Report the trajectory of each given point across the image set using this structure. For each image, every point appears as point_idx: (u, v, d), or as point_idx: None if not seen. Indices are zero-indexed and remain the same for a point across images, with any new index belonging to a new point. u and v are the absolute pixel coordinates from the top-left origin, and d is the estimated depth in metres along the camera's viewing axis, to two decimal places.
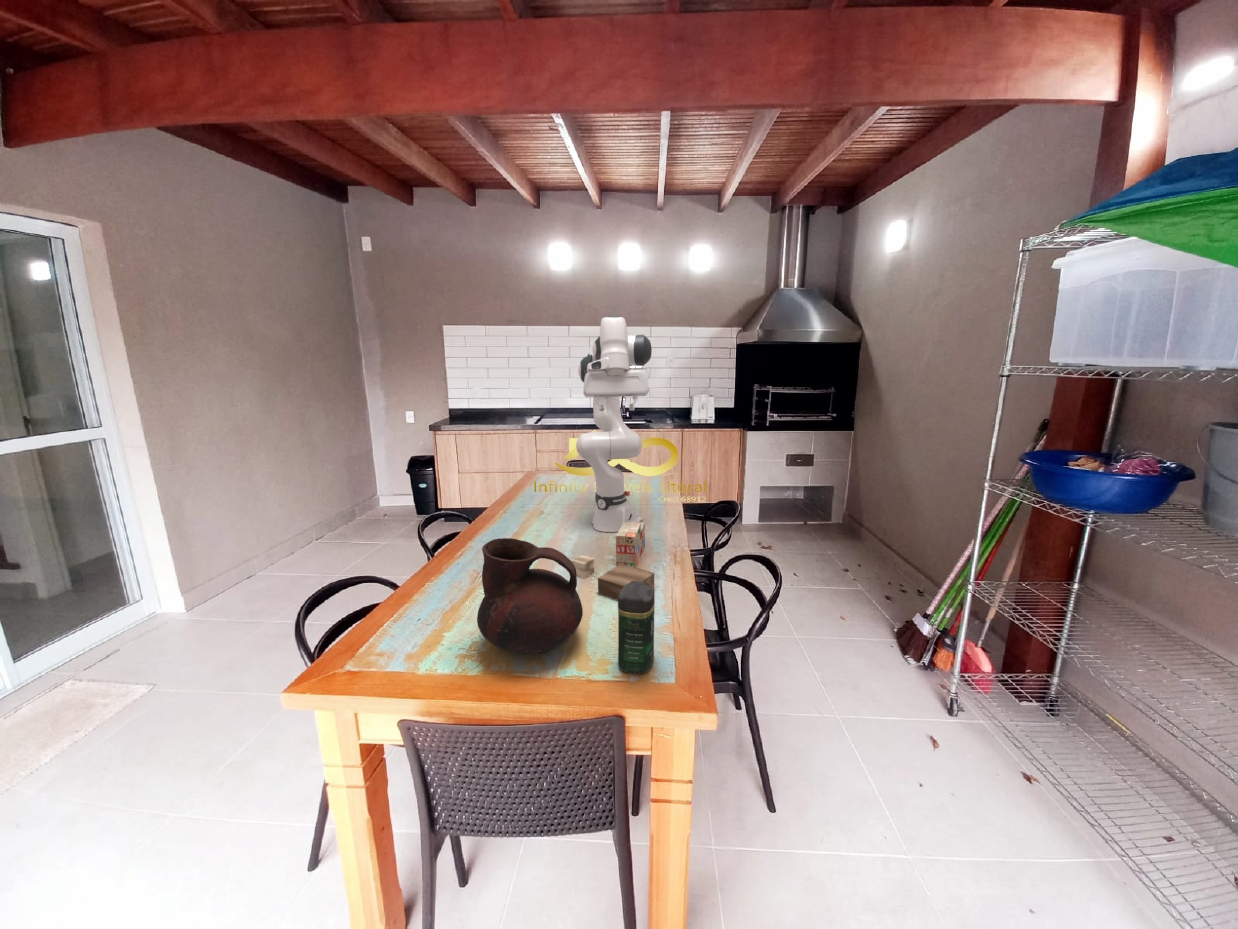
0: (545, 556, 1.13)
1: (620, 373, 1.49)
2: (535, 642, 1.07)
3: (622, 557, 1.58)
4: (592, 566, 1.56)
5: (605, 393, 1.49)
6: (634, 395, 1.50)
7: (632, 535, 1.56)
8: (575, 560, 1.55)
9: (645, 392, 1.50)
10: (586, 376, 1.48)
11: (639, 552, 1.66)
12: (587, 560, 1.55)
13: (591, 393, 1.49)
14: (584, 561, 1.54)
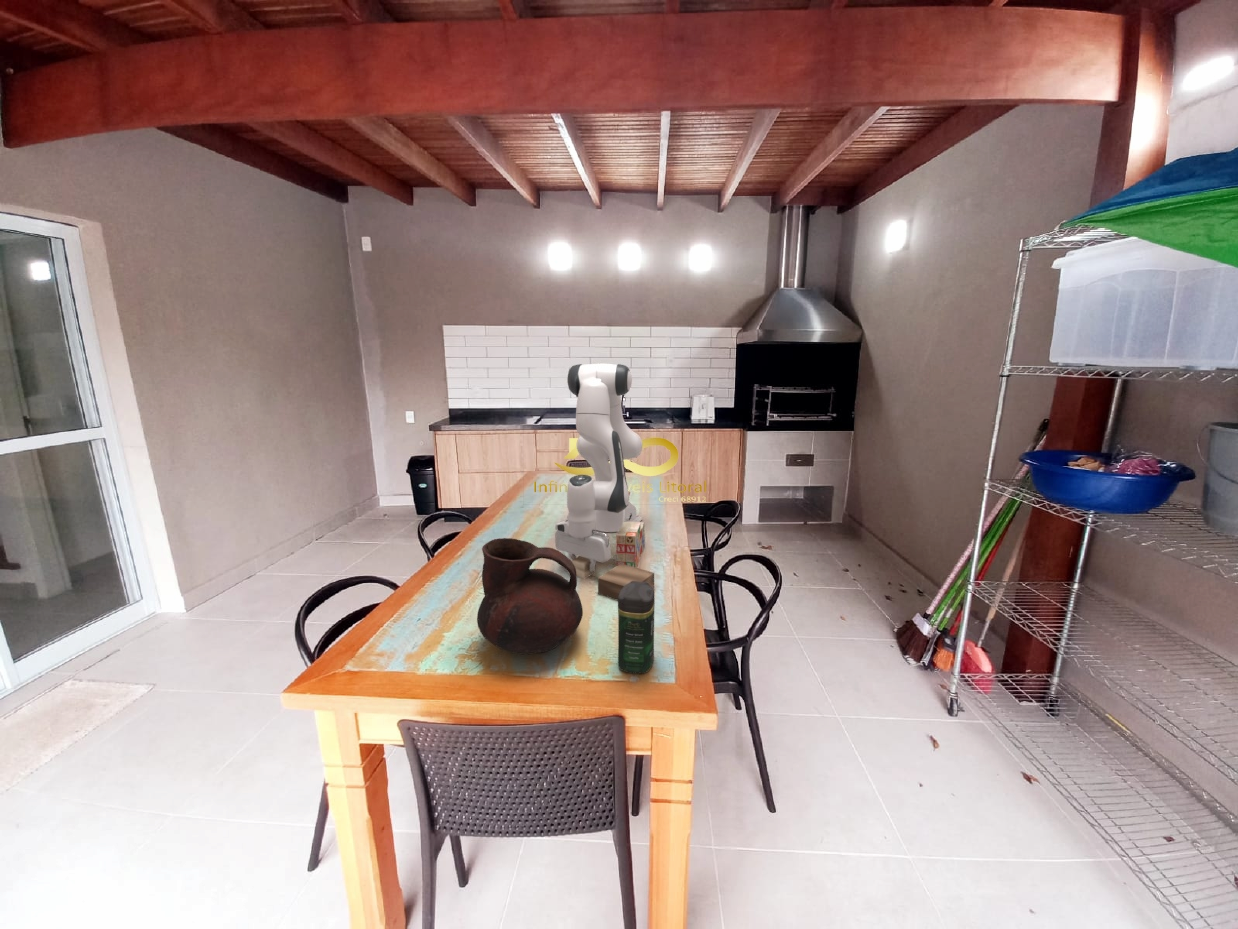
0: (545, 556, 1.13)
1: (580, 540, 1.51)
2: (535, 642, 1.07)
3: (623, 557, 1.58)
4: None
5: (571, 553, 1.56)
6: (590, 559, 1.52)
7: (632, 534, 1.57)
8: (575, 560, 1.55)
9: (602, 561, 1.49)
10: (555, 534, 1.57)
11: (639, 551, 1.66)
12: (587, 560, 1.55)
13: (560, 549, 1.58)
14: (583, 560, 1.54)
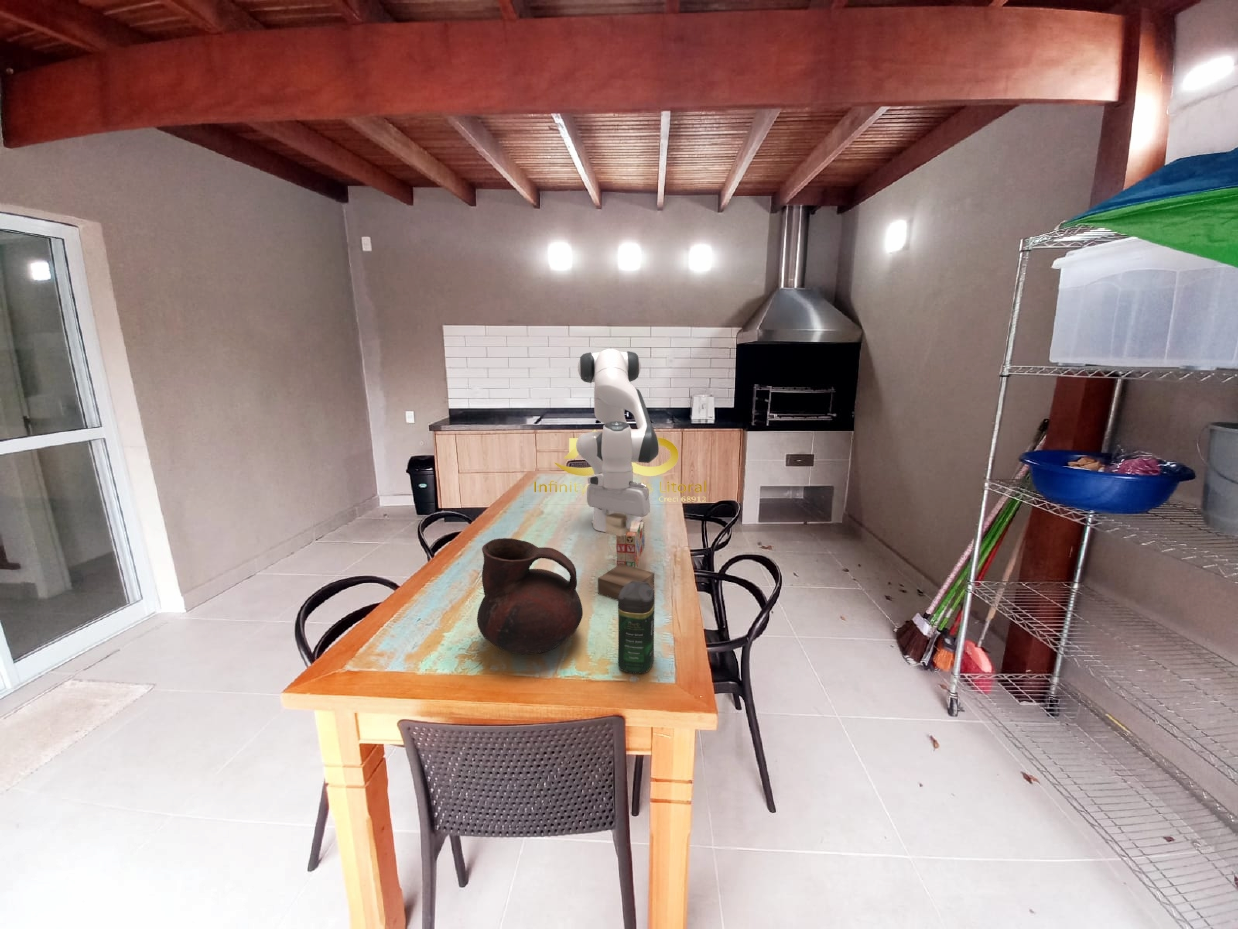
0: (545, 556, 1.13)
1: (615, 492, 1.37)
2: (535, 642, 1.07)
3: (623, 556, 1.58)
4: None
5: (605, 508, 1.41)
6: (627, 514, 1.38)
7: (632, 534, 1.57)
8: (609, 516, 1.40)
9: (640, 516, 1.34)
10: (587, 489, 1.43)
11: (639, 551, 1.66)
12: (622, 516, 1.40)
13: (593, 506, 1.44)
14: (619, 516, 1.40)
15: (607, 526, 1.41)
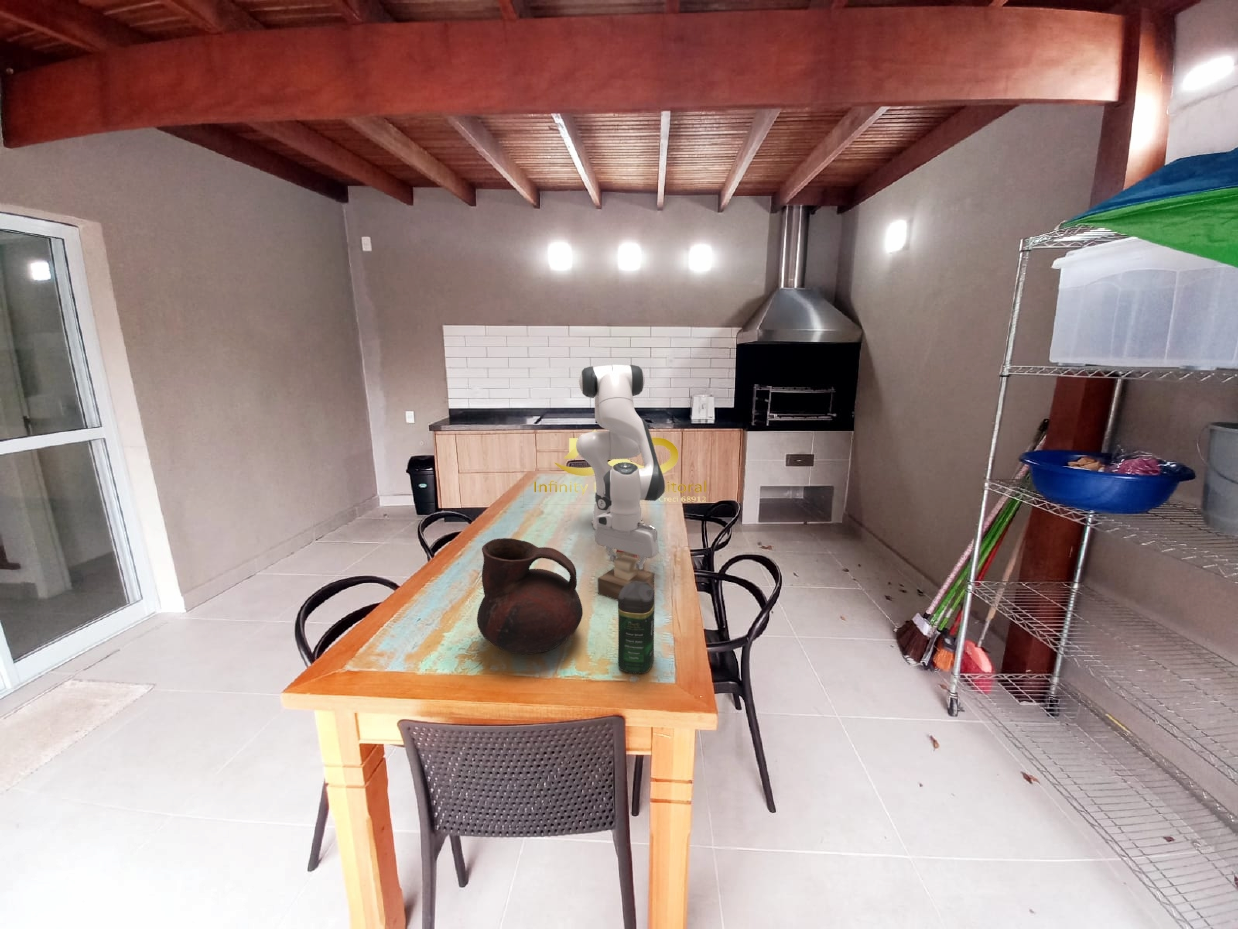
0: (545, 556, 1.13)
1: (624, 533, 1.38)
2: (535, 642, 1.07)
3: None
4: None
5: (613, 548, 1.43)
6: (640, 556, 1.38)
7: None
8: (618, 560, 1.42)
9: (649, 557, 1.36)
10: (596, 528, 1.44)
11: None
12: (631, 560, 1.42)
13: (601, 544, 1.45)
14: (627, 561, 1.42)
15: (615, 570, 1.42)
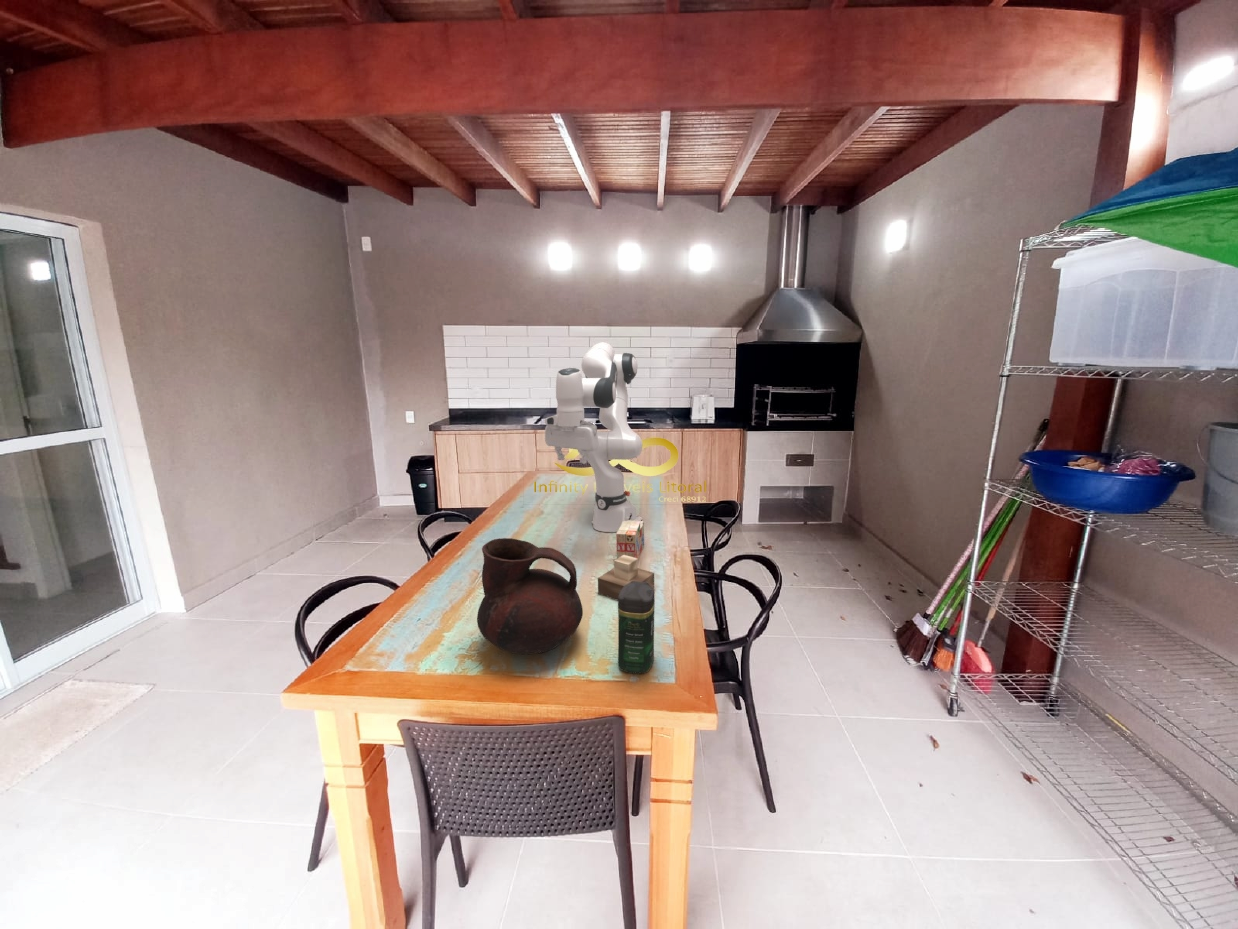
0: (545, 556, 1.13)
1: (568, 430, 1.55)
2: (535, 642, 1.07)
3: None
4: (636, 567, 1.43)
5: (560, 446, 1.60)
6: (582, 451, 1.56)
7: (632, 533, 1.58)
8: (618, 560, 1.42)
9: (589, 450, 1.53)
10: (545, 429, 1.62)
11: (639, 550, 1.67)
12: (631, 560, 1.42)
13: (550, 445, 1.63)
14: (627, 561, 1.42)
15: (615, 570, 1.42)
